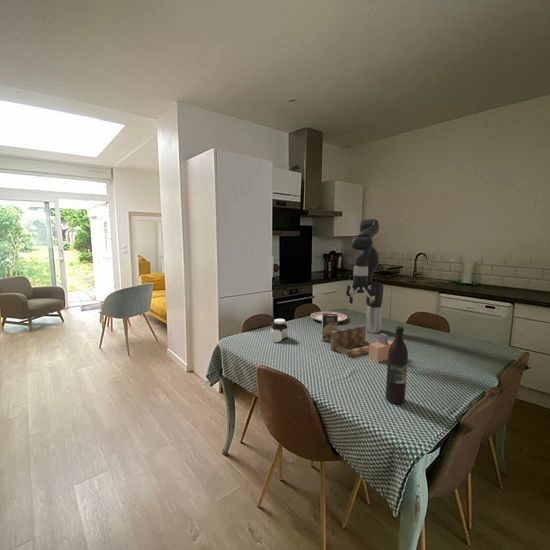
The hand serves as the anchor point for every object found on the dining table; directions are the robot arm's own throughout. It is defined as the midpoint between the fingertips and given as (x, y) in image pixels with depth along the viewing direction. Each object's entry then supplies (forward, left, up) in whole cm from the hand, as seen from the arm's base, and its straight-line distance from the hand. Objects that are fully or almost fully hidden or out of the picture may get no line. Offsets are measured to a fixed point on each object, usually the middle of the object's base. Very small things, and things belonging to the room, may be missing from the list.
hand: (359, 303), depth 161 cm
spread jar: (+30, -37, -28) cm, 55 cm away
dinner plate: (-24, -57, -28) cm, 68 cm away
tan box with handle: (-6, +12, -28) cm, 31 cm away
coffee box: (+3, -22, -28) cm, 35 cm away
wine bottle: (+21, +43, -28) cm, 55 cm away
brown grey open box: (0, -3, -27) cm, 28 cm away
